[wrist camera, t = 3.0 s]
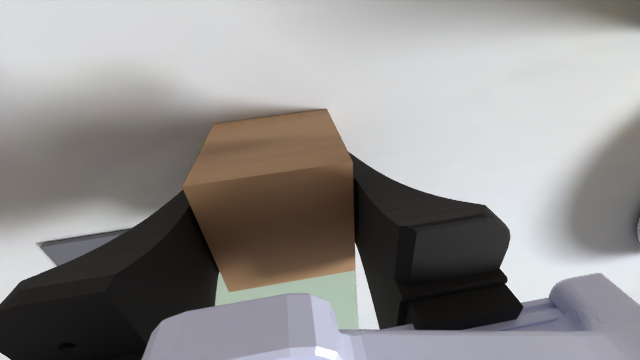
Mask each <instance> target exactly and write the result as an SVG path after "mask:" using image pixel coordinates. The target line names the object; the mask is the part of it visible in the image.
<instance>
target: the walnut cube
mask: <svg viewBox="0 0 640 360" xmlns="http://www.w3.org/2000/svg"><path fill="white" fill-rule="evenodd" d="M182 188H183V190H184V193H185V195H186V197H187V199H188V201H189V204H190V206H191V208H192V210H193V213H194V215H195V217H196V219H197V222H198V224H199V226H200V228H201V231H202V233H203V235H204V237H205V240H206V242H207V244H208V246H209V249H210V251H211V253H212V255H213V258H214V260H215V262H216V264H217V267H218V269H219V271H220V273H221V276H222V278H223V280H224V282H225V285H226V287H227V289H228V291H229V292H234V291H240V290H245V289H251V288H257V287H263V286H268V285H274V284H280V283H286V282H291V281H297V280H303V279H309V278H314V277H320V276H326V275H331V274H337V273H343V272H349V271H354V270H355V233H354V191H353V161H352V159H351V157H350V155H349V153H348V151H347V149H346V147H345V145H344V143H343V141H342V139H341V137H340V135H339V133H338V131H337V129H336V127H335V125H334V123H333V121H332V119H331V117H330V115H329V113H328V111H327V109H321V110H314V111H306V112H299V113H291V114H283V115H276V116H268V117H261V118H253V119H246V120H238V121H230V122H223V123H215V124H213V126H212V128H211V130H210V132H209V134H208V136H207V138H206V140H205V142H204V144H203V146H202V148H201V150H200V152H199V154H198V156H197V158H196V160H195V162H194V164H193V166H192V168H191V170H190V172H189V174H188V176H187V178H186V180H185V182H184V184H183V186H182Z"/></svg>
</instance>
